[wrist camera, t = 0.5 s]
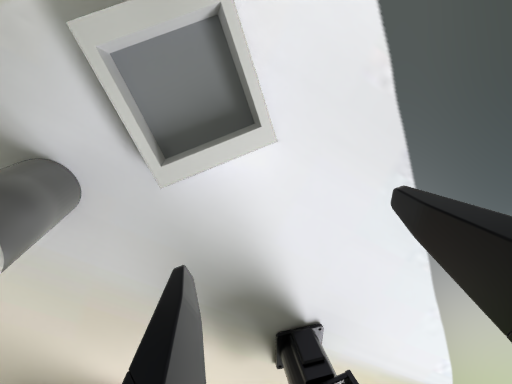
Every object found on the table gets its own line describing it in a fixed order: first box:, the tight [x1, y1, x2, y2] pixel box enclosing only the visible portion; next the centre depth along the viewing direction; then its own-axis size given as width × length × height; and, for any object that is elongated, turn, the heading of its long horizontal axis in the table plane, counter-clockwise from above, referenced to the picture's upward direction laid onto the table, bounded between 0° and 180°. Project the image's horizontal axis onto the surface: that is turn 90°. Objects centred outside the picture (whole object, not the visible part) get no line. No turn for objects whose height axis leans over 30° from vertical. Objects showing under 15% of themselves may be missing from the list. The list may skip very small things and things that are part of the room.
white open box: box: [66, 0, 277, 189], centre depth 18 cm, size 11×10×4 cm
